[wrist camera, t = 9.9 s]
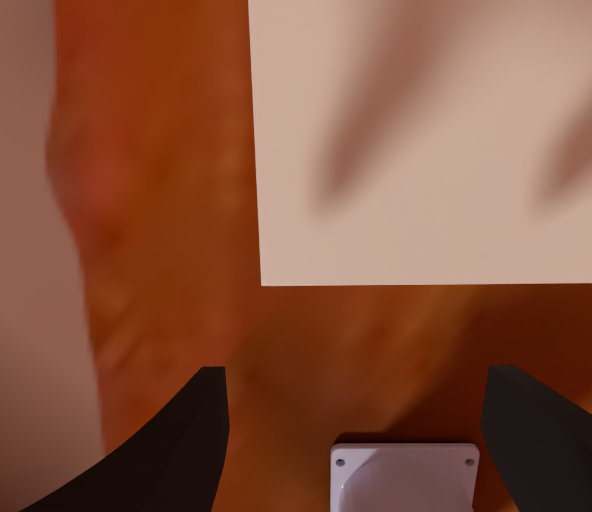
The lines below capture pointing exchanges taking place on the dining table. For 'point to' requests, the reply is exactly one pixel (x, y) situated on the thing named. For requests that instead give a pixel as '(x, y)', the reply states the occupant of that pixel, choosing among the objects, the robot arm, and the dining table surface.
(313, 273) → the pale beige flat-sided block
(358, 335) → the dining table surface
